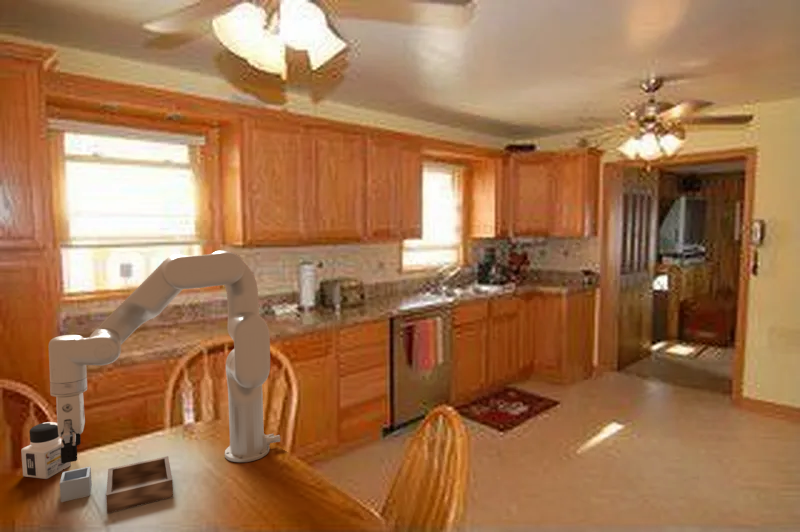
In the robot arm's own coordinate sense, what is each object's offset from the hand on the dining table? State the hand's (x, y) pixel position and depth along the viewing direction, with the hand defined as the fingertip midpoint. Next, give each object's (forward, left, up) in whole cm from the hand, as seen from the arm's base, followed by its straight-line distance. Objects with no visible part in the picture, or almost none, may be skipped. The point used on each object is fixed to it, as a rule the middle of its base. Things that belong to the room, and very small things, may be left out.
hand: (71, 453), depth 122 cm
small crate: (-1, 0, -11) cm, 11 cm away
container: (+7, -17, -11) cm, 21 cm away
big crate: (-15, +7, -11) cm, 19 cm away
